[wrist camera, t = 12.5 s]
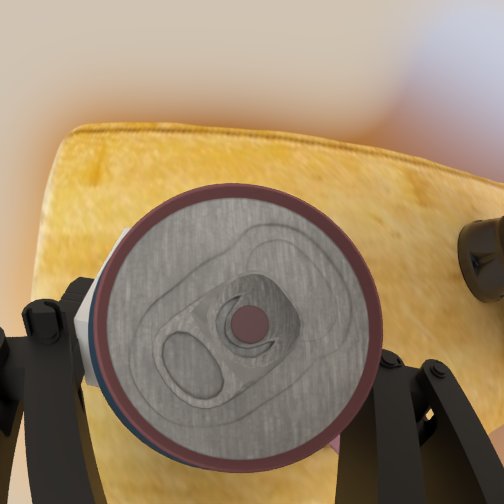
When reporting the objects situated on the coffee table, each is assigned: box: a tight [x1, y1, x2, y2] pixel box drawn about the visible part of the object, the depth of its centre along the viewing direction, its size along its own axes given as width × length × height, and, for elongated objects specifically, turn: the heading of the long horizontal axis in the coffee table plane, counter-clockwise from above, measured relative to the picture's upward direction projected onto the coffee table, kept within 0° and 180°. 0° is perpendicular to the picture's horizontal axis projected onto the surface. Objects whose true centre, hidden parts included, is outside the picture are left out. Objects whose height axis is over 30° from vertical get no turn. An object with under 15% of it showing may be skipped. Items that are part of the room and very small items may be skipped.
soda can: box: [88, 183, 383, 473], centre depth 11 cm, size 7×7×12 cm
